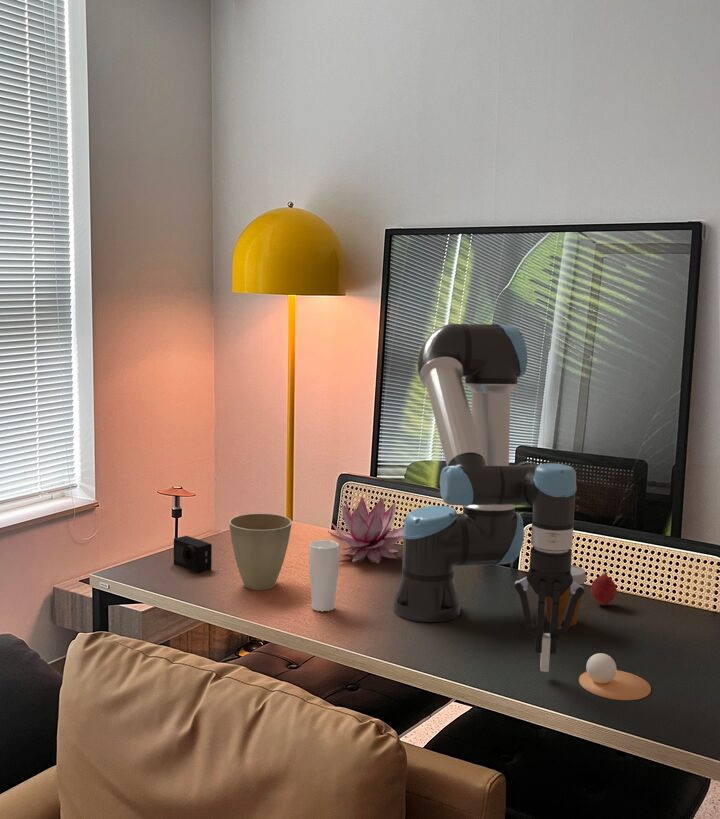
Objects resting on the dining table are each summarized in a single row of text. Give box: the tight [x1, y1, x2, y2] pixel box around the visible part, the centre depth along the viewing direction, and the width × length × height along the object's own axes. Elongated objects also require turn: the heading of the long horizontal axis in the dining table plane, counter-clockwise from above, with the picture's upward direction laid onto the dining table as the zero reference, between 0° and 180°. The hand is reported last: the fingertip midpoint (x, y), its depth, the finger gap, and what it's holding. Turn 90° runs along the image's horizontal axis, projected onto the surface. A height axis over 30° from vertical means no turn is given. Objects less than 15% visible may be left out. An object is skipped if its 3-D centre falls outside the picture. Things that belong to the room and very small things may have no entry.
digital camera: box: [173, 535, 213, 574], centre depth 235 cm, size 10×5×7 cm, turn 47°
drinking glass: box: [308, 539, 341, 613], centre depth 208 cm, size 7×7×15 cm
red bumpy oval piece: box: [590, 571, 618, 606], centre depth 216 cm, size 6×6×8 cm
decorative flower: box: [327, 496, 404, 564], centre depth 247 cm, size 21×21×15 cm
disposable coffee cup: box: [545, 564, 588, 627], centre depth 204 cm, size 10×10×12 cm
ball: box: [585, 652, 618, 684], centre depth 174 cm, size 6×6×6 cm
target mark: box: [578, 669, 652, 701], centre depth 173 cm, size 13×13×1 cm
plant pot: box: [228, 512, 293, 591], centre depth 223 cm, size 15×15×16 cm
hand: (544, 668), depth 175 cm, fingers closed
